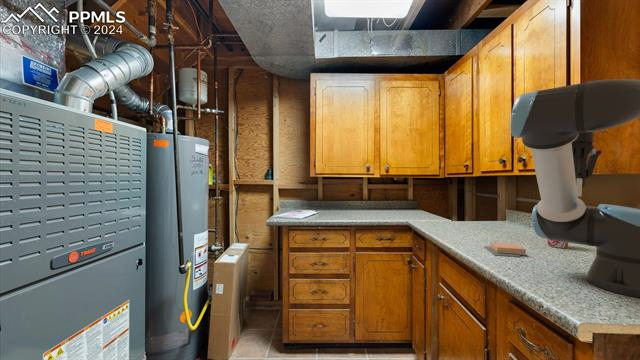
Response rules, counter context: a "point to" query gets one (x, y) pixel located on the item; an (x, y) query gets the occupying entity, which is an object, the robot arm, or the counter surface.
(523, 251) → the tile
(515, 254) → the mat
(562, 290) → the counter surface
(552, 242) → the soda can
